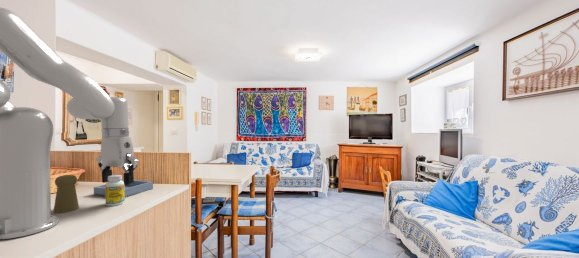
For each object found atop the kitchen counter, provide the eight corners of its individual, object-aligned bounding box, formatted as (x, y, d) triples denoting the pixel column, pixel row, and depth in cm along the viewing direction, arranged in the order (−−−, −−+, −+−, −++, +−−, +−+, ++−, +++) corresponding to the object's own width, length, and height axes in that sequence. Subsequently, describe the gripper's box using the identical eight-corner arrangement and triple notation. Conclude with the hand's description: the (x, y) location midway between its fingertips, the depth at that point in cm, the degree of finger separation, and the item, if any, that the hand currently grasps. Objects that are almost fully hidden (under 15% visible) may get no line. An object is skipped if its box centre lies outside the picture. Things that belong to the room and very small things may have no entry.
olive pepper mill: (63, 213, 74) (63, 177, 74) (48, 212, 75) (47, 176, 75) (83, 207, 80) (83, 173, 80) (69, 205, 81) (68, 173, 81)
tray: (122, 198, 90) (121, 190, 90) (93, 195, 93) (93, 187, 93) (152, 188, 103) (152, 181, 103) (127, 186, 107) (127, 179, 107)
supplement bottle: (123, 200, 88) (122, 173, 88) (126, 203, 84) (126, 176, 84) (104, 203, 84) (104, 175, 84) (106, 207, 80) (106, 178, 80)
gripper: (145, 133, 85) (147, 181, 86) (107, 132, 90) (109, 178, 91) (125, 134, 78) (127, 187, 79) (85, 133, 82) (88, 183, 84)
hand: (118, 182), depth 85 cm, fingers open, 9 cm apart
